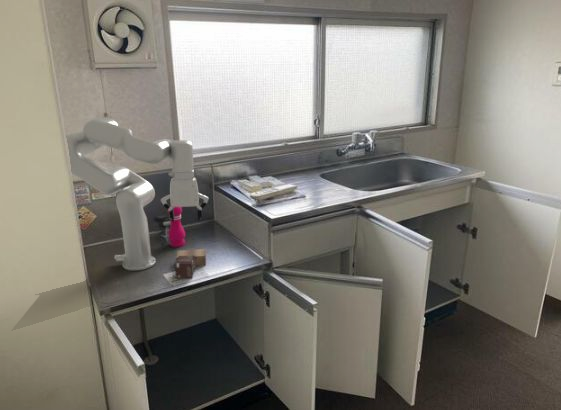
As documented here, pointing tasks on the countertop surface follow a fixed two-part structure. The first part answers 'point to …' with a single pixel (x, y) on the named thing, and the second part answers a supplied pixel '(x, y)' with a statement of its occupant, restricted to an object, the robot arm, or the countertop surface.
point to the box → (185, 266)
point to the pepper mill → (176, 229)
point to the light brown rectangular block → (198, 253)
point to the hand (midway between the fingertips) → (186, 219)
